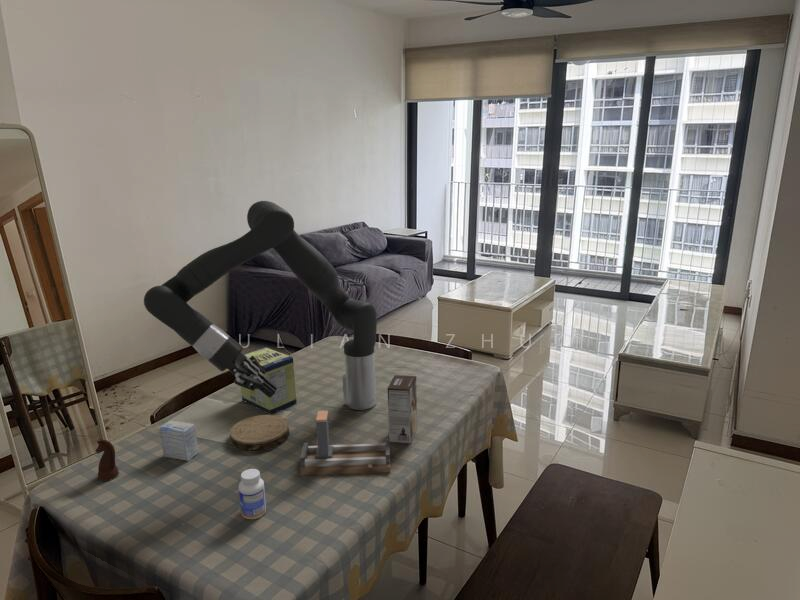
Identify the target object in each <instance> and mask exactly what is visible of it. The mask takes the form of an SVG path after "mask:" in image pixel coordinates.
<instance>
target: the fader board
mask: <svg viewBox="0 0 800 600" xmlns="http://www.w3.org/2000/svg"><path fill="white" fill-rule="evenodd" d="M390 443H391V442H390V441H389V439H385V443H359V444H358V443H353V444H351V443H350V444H330V446H333V458H330V459H316V458H315V456H316V451H317V447H318V445H309V442H304V443H303V446H302V450H301V454H300V457H299V461H300V469H299V471H300V472H299V473H300V476H321V475H323V476H324V475H347V474H348V475H350V474H355V475H356V474H374V473H377V474H379V473H391V450H390V449H391V448H390V447H391V444H390Z"/></svg>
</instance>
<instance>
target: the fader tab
mask: <svg viewBox="0 0 800 600" xmlns="http://www.w3.org/2000/svg"><path fill="white" fill-rule="evenodd" d="M315 422H316V437H317V446H318V447H317V451H316V456H315V458H316V459H330V458H333V446H330V445H331V442H330V440H331V439H330V426H329V425H330V423H329V422H330V421H329V410H318V411H317V414H316V418H315Z"/></svg>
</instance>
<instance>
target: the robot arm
mask: <svg viewBox="0 0 800 600" xmlns="http://www.w3.org/2000/svg"><path fill="white" fill-rule="evenodd" d="M246 221H247V224H248V227H249V229H250V230H249V231H248V232H246V233H245V234H244V235H242V236H240V237H239V238H237V239H235V240H233V241H231V242H230V241H229V242H227V243H225V244H223V245H220V246H217V247H215V248H211V249H210V250H207V251H205V252H203V253H202V254H200V255H199V256H197V257H196V258H194V259H193V260H192V261H190V262H189V263H187V264H186V265H185V266H183V267H182V268H181V269H180V270H178V272H177V273H176V274H175V275H174V276H173V277H171V278H169V279H168V280H167V281H165V282H164V283H162V284H161V285H156V286H155V285H154V286H153V287H151V288H149V289H148V290H147V291H146V293H145V294H144V297H143V305H144V307H145V309H146V311H147V312H148V313H149V314H150V315H152V316H153V317H154V318H156V319H157V320H158V321H160V322H161V323H163V324H164V325H166V326H168V327H169V329H171V330H173V331H174V332H175V333H176V334H177V335H178V336H179V337H180V338H181V339H182V340H184V341H185V342H186V343H187V344H189V345H190V346H191V347H192V348H194V350H195V351H196V352H198V354H199V355H201V356H202V357H203V358H204V359H206V361H208V362H209V363H210V364H211V365H213V366H214V367H216V368H217V369H218V370H219V371H221V372H224V371H225V370H228V371H229V372H230V373H231V374H232V375H233V376H235V379H234V381H233V383H234V384H235V385H237V386H239V387H241V386H242V387H244V388H247V389H250V390H252V391H254V390H255V389H259V390H260V391H262V392H263V393H264V394H265V395H266V396H268V397H269V398H271V397H272V396H273V395H274V394H275V392H276V390H277V387H276V386H275V385H273V384H272V383H271V382H270V381H269V380H267V379H266V376H265V374H266V372H265V371H264V369H263V368H262V367H261V365H260V364H259V362H258V361H257V360H256V358H255V357H254V356H251V357H250V358H247V357H246V356H245V355H243V354H244V353H242V352H243V350H244V347H243V346H242V345H241V344H240V343H238V341H237V340H235V339H234V338H233V337H231V336H230V335H229V334H228V333H227V332H225V330H223V329H222V328H221V327H219V326H217V325H216V324H214V323H213V322H212V321H210V319H208V318H207V317H205V315H203V314H202V313H201V312H199V311H198V310H196V309H194V308H192V307H191V306H190V304H188V302H190V300H192V299H193V298H194V297H195V296H196V295H198V294H200V293H201V292H203V291H205V290H206V289H208V288H209V287H210V286H212V285H214V283H216V282H217V281H218V280H220V279H221V278H223V277H224V276H225V275H227V274H228V273H230V272H232V270H235V269H236V268H238V267H239V266H241V265H243V264H245V263H246V262H248V261H251V260H252V259H254V258H255V257H257V256H259V255H261V254H263V253H266V252H267V251H269V250H272V249H273V250H274V251H275V252H276V253H277V254H278V255H279V256H280V258H281V259H282V260H283V262H284V263H285V265H286V266H287V267H288V268H289V270H290V271H291V272H292V273H293V274H294V275H295V277H296V278H297V279H298V280H299V281H300V282H301V283H302V284H303V285H304V287H306V288H307V289H308V290H309V291H310V292H311V293H312V294H313V295H314V297H316V298H317V299H318V300H319V301H320V302H321V303H322V304H323V305H324V307H325V308H326V309H327V310H328V311H329V312H330V314H331V316H332V317H333V318H334V319H335V321H336V322H337V324H338V325H340V326H341V327H342V328H343V329H346V330H348V331H349V330H350V331H353V339H352V338H351V339H349V340H348V341H345V343H344V344H343V356H344V357H343V359H344V360H343V361H344V362H343V363H344V375H342V378H341V379H342V392H343V393H342V396H343V405H345V406H347V408H349V409H351V410H356V411H365V410H369V409H371V408H373V407H375V405H376V404H377V394H376V365H375V364H376V363H375V346H376V341H377V325H378V321H377V320H378V319H377V310H376V307H375V306H374V305H373V303H370V302H367V301H363V300H358V299H354V298H352V297H350V296H349V294H347V293H346V292H345V291H344V290H343V289H342V288H341V287H340V283H339V276H338V273H337V271H336V269H335V268H334V266H333V265H332V264H331V263H330V261H328V260H327V258H326V257H325V256H324V255H323V254H322V253H321V252H320V251H319V250H318V249H317V248H315V247H314V246H313V245H312V244H311V243H309V242H308V241H307V240H306V239H304V238H303V237H302V236H301V235H299V234H298V233H297V231H296V230H294V229H295V220H294V218H293V216H292V215H291V214H290V212H289V211H288V210H286V209H285V208H283V207H281V206H280V205H278V204H276V203H274V202H272V201H269V200H268V201H267V200H260V201H256V202H253V204H251V205H250V207H249V208H248V210H247V216H246Z"/></svg>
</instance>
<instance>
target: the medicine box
mask: <svg viewBox="0 0 800 600" xmlns="http://www.w3.org/2000/svg"><path fill="white" fill-rule="evenodd" d="M195 427H196V426H195V424H193V423H188V422H182V421H178V420H177V421H176V420H169V421H168V422H166V423H164V424H163V425H162V426H160V427H159V433H160V434H159V435H160V441H161V447H162V455H163V457H165V458H170V459H175V460H180V461H187V462H189V461H190V460H192V459H193V458H194V457H195V456H196V455H198V454H199V446H198V439H197V432H196V428H195Z"/></svg>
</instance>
